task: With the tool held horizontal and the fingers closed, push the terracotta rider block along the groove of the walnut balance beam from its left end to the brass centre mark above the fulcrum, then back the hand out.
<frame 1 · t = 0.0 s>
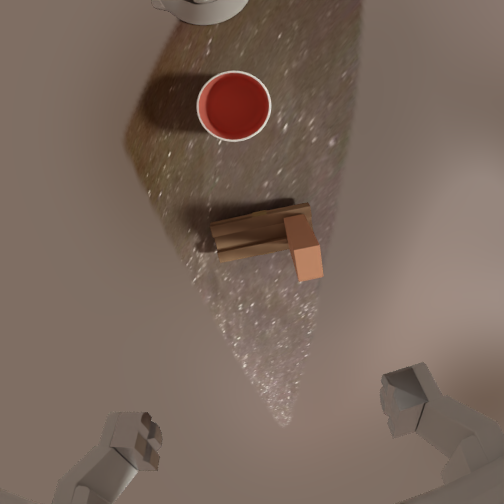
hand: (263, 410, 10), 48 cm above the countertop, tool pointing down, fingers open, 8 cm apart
cup: (235, 105, 49), on the countertop
rider: (301, 243, 50), point 10 cm above the countertop, slide at 5.5 cm
beam: (262, 226, 59), on the countertop
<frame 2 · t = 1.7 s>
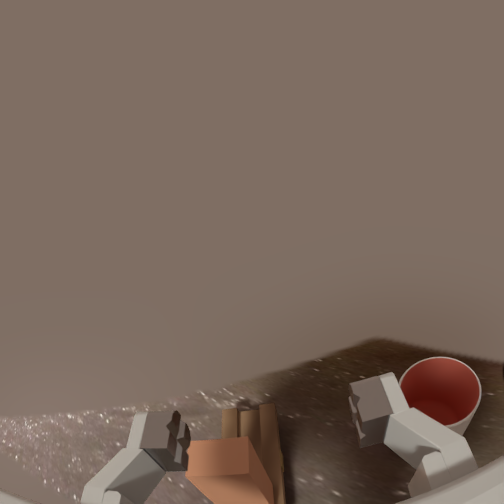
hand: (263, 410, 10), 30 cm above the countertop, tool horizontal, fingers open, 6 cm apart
cup: (424, 434, 32), on the countertop
rider: (237, 484, 24), point 10 cm above the countertop, slide at 5.5 cm
beam: (256, 472, 34), on the countertop
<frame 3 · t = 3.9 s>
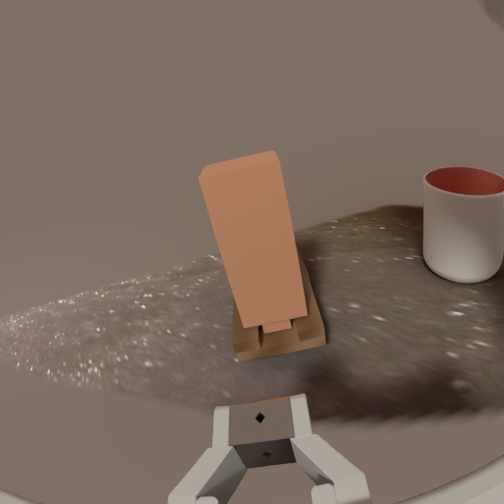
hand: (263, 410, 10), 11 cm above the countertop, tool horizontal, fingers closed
cup: (461, 264, 31), on the countertop
rider: (259, 250, 24), point 10 cm above the countertop, slide at 5.5 cm
beam: (277, 309, 33), on the countertop
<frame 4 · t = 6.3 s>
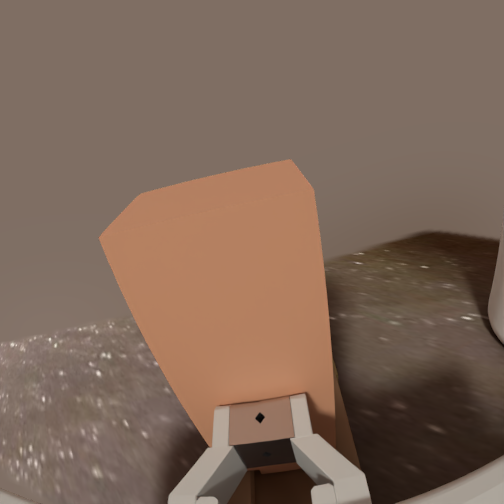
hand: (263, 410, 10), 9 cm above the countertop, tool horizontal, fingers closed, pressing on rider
rider: (256, 365, 11), point 10 cm above the countertop, slide at 5.0 cm, touching gripper
beam: (282, 406, 20), on the countertop
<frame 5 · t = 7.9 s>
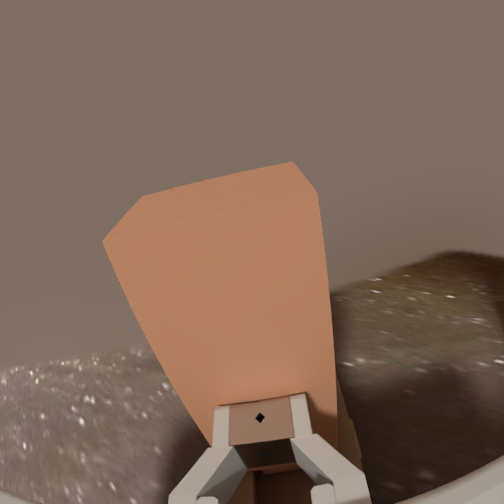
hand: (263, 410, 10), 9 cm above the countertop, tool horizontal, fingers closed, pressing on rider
rider: (258, 367, 11), point 10 cm above the countertop, slide at -0.7 cm, touching gripper
beam: (291, 478, 15), on the countertop
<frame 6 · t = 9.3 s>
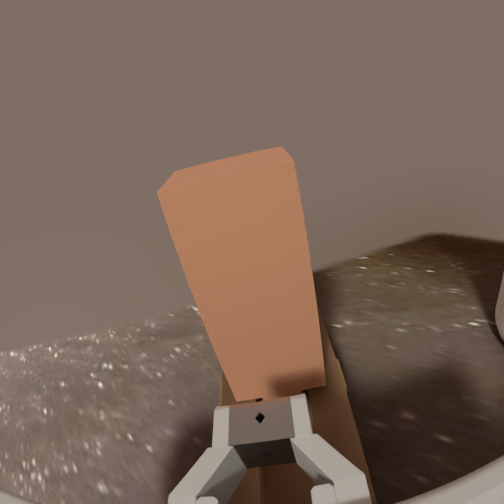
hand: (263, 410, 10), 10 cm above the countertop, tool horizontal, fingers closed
rider: (259, 298, 16), point 10 cm above the countertop, slide at -0.7 cm
beam: (289, 418, 19), on the countertop
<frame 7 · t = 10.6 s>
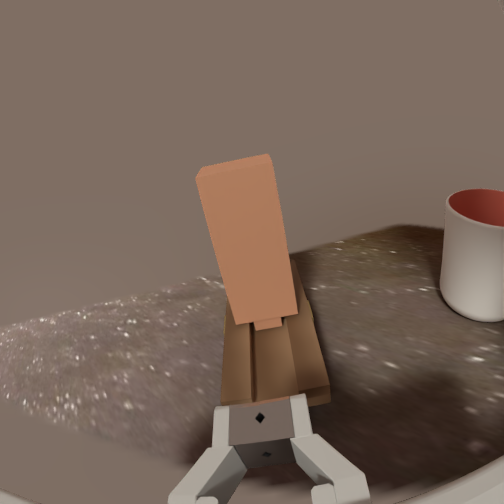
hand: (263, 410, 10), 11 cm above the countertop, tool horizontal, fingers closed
cup: (480, 298, 27), on the countertop
rider: (252, 249, 25), point 10 cm above the countertop, slide at -0.7 cm
beam: (274, 348, 28), on the countertop
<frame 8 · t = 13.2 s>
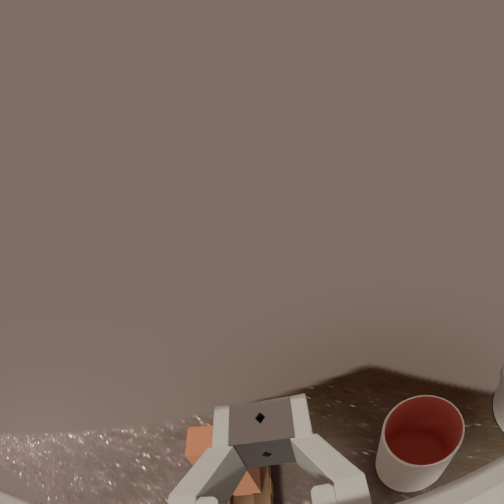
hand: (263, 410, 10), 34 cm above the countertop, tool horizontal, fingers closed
cup: (410, 463, 32), on the countertop
rider: (228, 466, 30), point 10 cm above the countertop, slide at -0.7 cm
beam: (248, 497, 34), on the countertop
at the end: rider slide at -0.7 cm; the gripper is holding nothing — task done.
